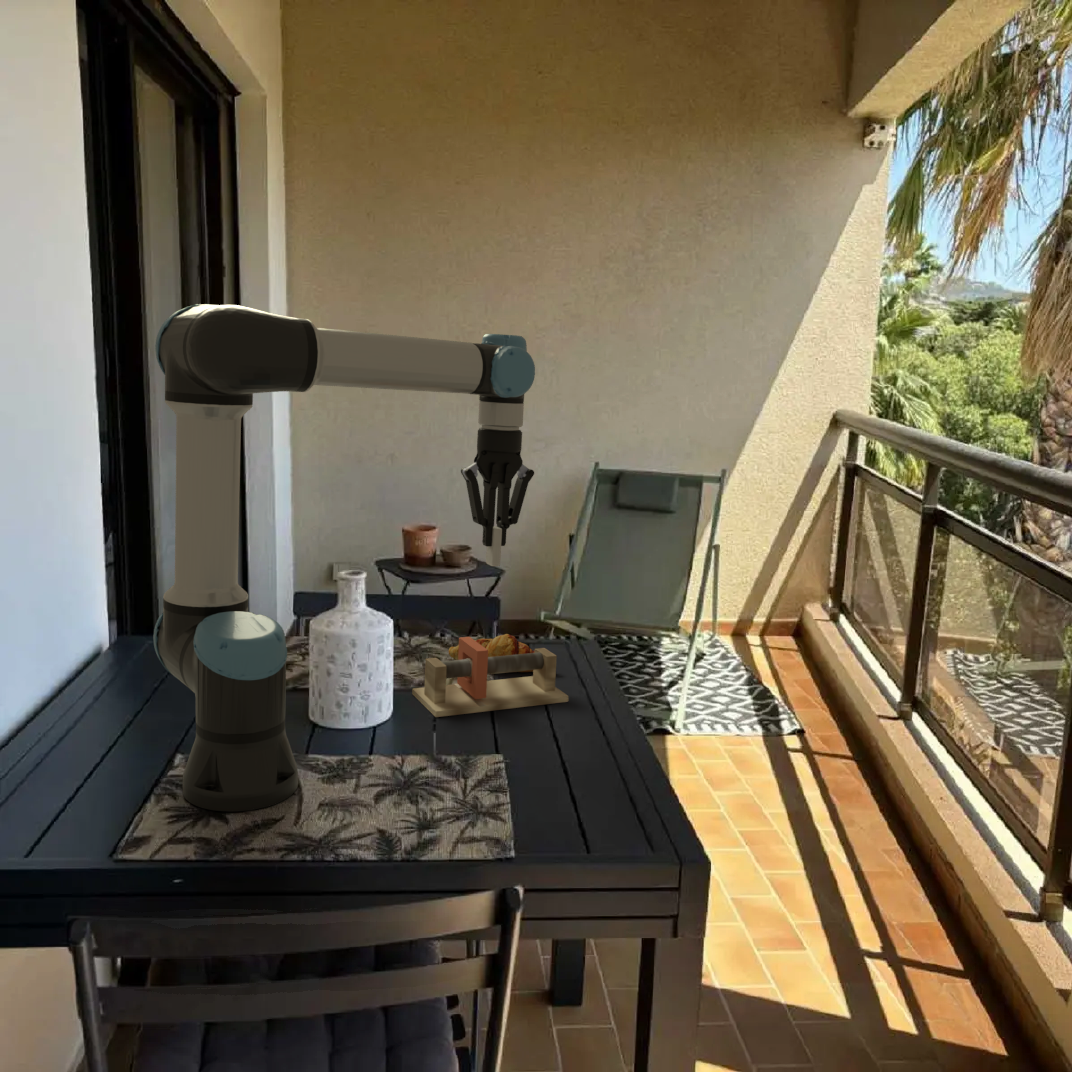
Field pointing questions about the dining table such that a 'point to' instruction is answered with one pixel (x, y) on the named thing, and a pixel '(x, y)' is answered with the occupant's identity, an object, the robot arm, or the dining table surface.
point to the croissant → (499, 647)
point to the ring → (474, 667)
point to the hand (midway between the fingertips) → (492, 564)
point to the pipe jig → (491, 684)
